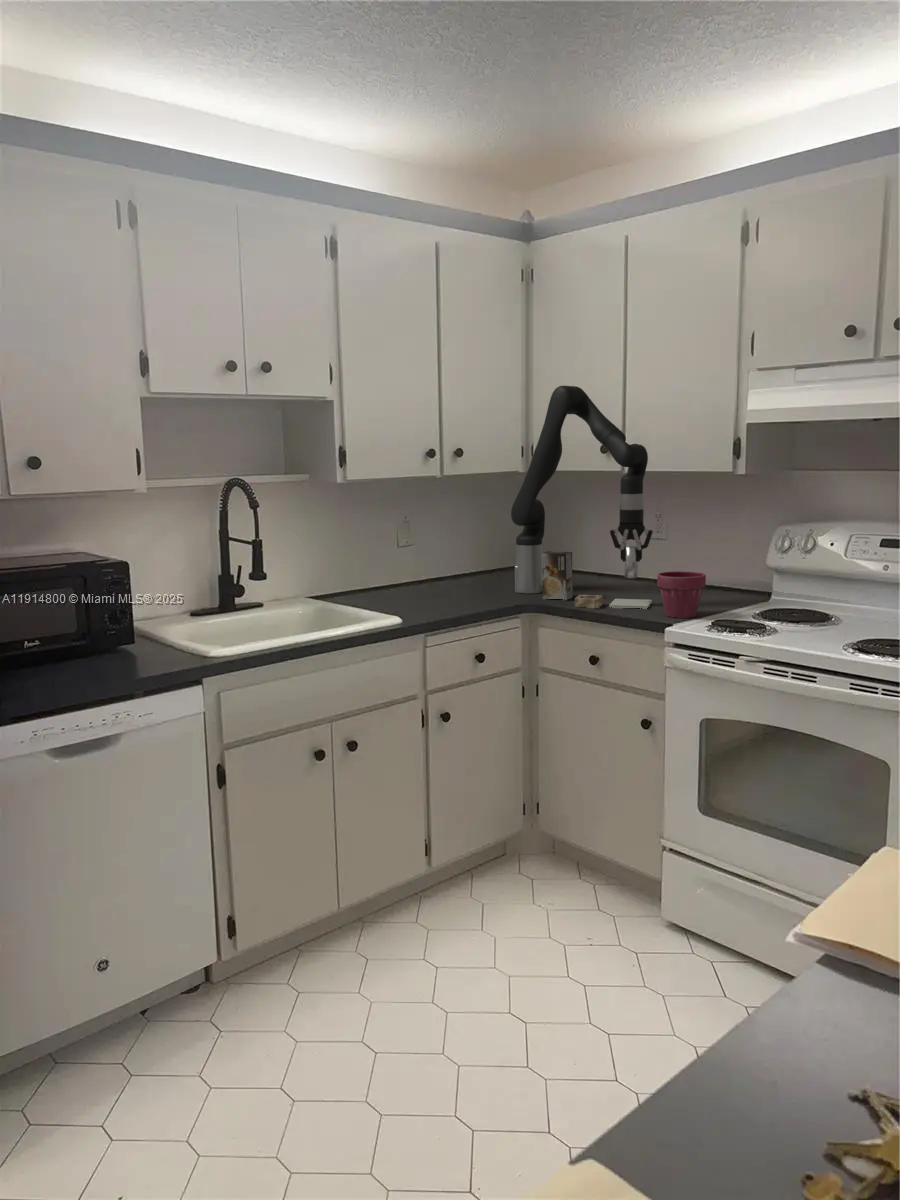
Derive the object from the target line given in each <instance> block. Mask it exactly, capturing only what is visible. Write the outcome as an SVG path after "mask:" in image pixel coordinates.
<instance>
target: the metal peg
mask: <svg viewBox="0 0 900 1200" xmlns="http://www.w3.org/2000/svg"><path fill="white" fill-rule="evenodd" d="M637 550H638V548H637V545H626V546H625V562H624V578H626V579H637V578H638V573H639V572H638V570H639V569H638V566H639V565H638V563H639V562H637Z"/></svg>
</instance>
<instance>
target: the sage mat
mask: <svg viewBox="0 0 900 1200" xmlns="http://www.w3.org/2000/svg"><path fill="white" fill-rule="evenodd" d="M652 603H653V600H652V599H641V598H639V599H636V598H635V599H634V598H614V599H613V600H612V602H610V603H609V605H608V608H609V607H610V608H609V609H623V608H640V609H639V610H648V609H649V608H650V606H651V605H652ZM650 604H651V605H650ZM611 607H612V608H611ZM648 607H649V608H648ZM641 608H642V609H641ZM647 608H648V609H647Z"/></svg>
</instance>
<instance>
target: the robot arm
mask: <svg viewBox="0 0 900 1200" xmlns="http://www.w3.org/2000/svg"><path fill="white" fill-rule="evenodd" d="M551 393H552V394H551V396H550V399H549V402H548V406H547V410H546V414H545V419H544V423H543V425H542V428H541V432H540V434H539V438H538V441H537V443H536V446H535V449H534V452H533V455H532V457H531V459H530V464H529V467H528V470H527V472H526V474H525V476H524V480H523V482H522V485H521V487H520V489H519V491H518V493H517V495H516V497H515V499H514V502H513V504H512V506H511V509H510V517H511V520H512V522H513V523H514V524H515V525H516V526H519V527H523V529H522V531H521V532H520V533H519V534H518V535H517V536H516V539H515V549H516V550H515V552H516V553H515V556H516V557H515V558H516V560H515V563H516V565H514V592H515V593H518V594H541V593H543V584H542V553H543V538H544V536H545V524H546V523H545V522H546V521H545V520H546V517H545V516H546V515H545V514H546V511H545V507H544V503H542V501H541V500H540V499H537V497H538V495H539V494H540V492H541V490H542V489H543V487H544V486H546V484H547V483H548V482H549V481H550V480H551V478H552V477H553V476H554V475H555V473H556V471H557V468H558V466H559V463H560V460H561V458H562V453H563V443H562V427H563V425H564V422H565V419H566V417H567V415H576V416H577V417H579V418H580V419H582V420H583V421H584V422H585V423H586V424H587V426H588V427H589V429H590V431H591V434H592V435H593V437H595V439H596V440H597V441H598V442H599V443H600V444H601V445H602V446H604V448H606V449H607V450H608V451H609V454H610V455H611V457H612V458H613V459H614V461H615V462H616V464H618V465H619V466H621V467H624V468H627V473H626V474H625V475H622V476H621V479H620V494H619V495H620V496H619V504H618V506H619V507H618V508H619V525H618V526H617V528H615V529H611V530H610V531H609V534H610V537H611V539H612V543H613V545H614V548H616V549H618V550H619V551H620V561H622V562H624V563H625V546H627V542H628V540H630V541H631V540H633V541H634V542H635V544H636V545H635V546H637V548H638V550H637V562H638V563H640V561H642V559H643V550H644V549H646V548H648V547H649V544H650V541H651V538H652V537H653V536H652V535H653V533H654V530H653V529H648V528H646V526H645V525H644V524H645V523H644V520H645V519H644V515H645V514H644V510H645V509H644V507H645V504H644V503H645V502H644V478H645V474H646V469H647V466H648V460H649V455H648V454H649V453H648V452H647V448H646V447H645V446H644V445H642V444H638V443H637V444H629V443H628V442H626V439H627V437H626V435H625V433H624V432H623V431H622V430H621V429H619V427H618V426H617V425H615V424H614V423H612V421H610V420H609V419H608V418H607V417H606V416H605V415H604V414H603V413H602V411H600V409H599V408H598V407H597V406H596V404H595V403H594V402H593V400H592V399H591V398H590V397H589V395H588V394H587V393H586V391H584V390H583V389H582V388H581V387H579V386H574V385H559V386H557V387H556V388H554V390H553V392H551ZM643 533H644V534H645V536H646V538H645V540H644V542H643V543H644V544H642V540H641V539H642V538H641V536H642V534H643ZM618 534H620V535H621V537H622V540H621V543H620V542H619V539H618Z"/></svg>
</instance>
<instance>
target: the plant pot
mask: <svg viewBox="0 0 900 1200" xmlns="http://www.w3.org/2000/svg"><path fill="white" fill-rule="evenodd" d="M706 578H707V575H706V573H703V572H699V571H698V572H697V571H684V570H683V571H677V570H676V571H663V572H659V573H657V580H656V584H657V585H656V586H657V587H659V589H660V595H661V600H662V601H661V602H662V605H663V610H664V615H665V617H666V616H667V617H669V616H670V617H669V618H674V617H677V618H676V619H690V618H695V617H696V616H697V614H698V609H699V606H700V602H701V597H702V593H703V588H705V587H706V581H707V579H706Z"/></svg>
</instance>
